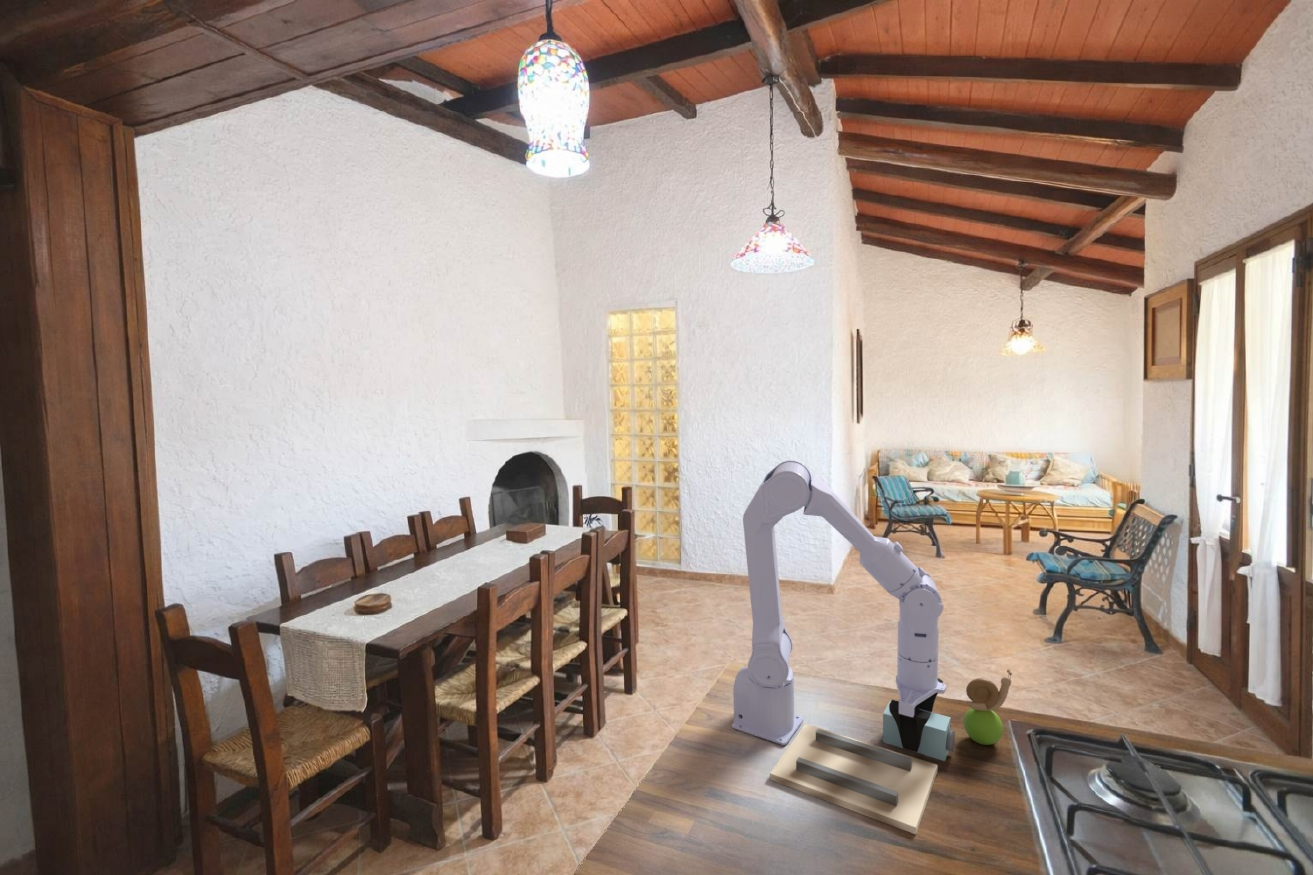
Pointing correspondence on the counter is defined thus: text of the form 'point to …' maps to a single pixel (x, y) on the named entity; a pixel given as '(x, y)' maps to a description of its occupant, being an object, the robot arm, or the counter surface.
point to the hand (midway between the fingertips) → (916, 735)
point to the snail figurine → (985, 709)
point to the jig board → (858, 776)
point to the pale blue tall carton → (924, 735)
